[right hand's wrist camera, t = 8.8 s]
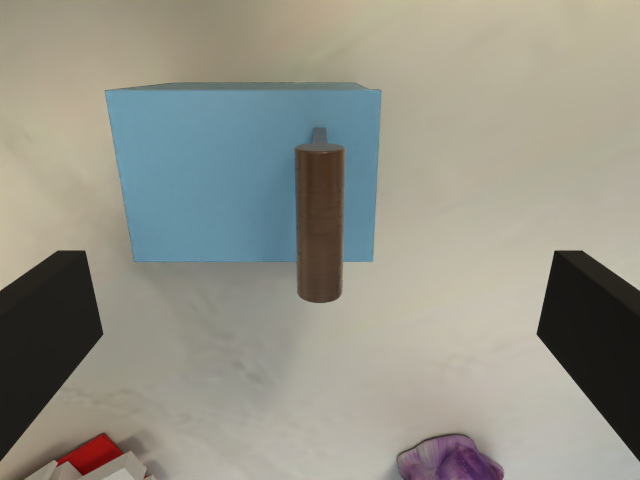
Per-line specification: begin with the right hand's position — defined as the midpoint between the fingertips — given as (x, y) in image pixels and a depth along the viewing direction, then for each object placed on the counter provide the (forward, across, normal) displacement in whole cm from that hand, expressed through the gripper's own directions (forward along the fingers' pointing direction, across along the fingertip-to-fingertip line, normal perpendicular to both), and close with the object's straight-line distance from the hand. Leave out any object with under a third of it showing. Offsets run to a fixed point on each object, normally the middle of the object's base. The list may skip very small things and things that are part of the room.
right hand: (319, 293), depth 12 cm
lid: (+14, -4, 0) cm, 14 cm away
